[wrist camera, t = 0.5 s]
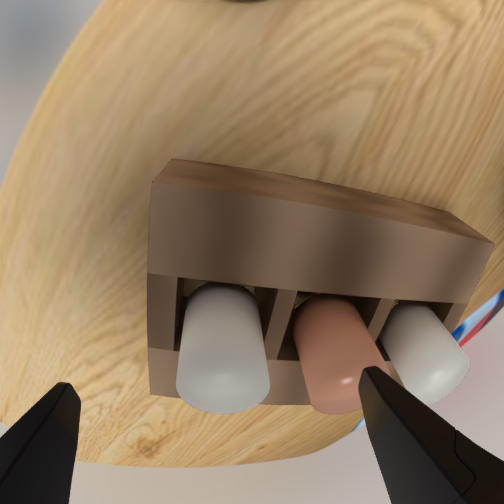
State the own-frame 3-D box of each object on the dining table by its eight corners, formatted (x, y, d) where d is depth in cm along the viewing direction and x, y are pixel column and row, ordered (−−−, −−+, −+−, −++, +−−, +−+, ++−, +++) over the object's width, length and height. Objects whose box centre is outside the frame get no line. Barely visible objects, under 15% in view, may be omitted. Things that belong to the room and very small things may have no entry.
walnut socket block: (449, 212, 21) (494, 244, 16) (387, 354, 27) (409, 397, 22) (171, 158, 18) (152, 182, 13) (160, 340, 24) (150, 394, 19)
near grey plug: (264, 285, 17) (279, 359, 12) (251, 340, 19) (260, 415, 14) (188, 276, 17) (176, 350, 12) (184, 334, 18) (174, 409, 13)
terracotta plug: (364, 294, 18) (403, 360, 13) (343, 345, 20) (370, 412, 15) (300, 288, 17) (326, 361, 13) (283, 343, 19) (300, 416, 14)
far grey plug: (438, 300, 19) (481, 353, 14) (414, 345, 21) (447, 400, 16) (392, 297, 18) (434, 358, 13) (369, 346, 20) (399, 408, 15)
